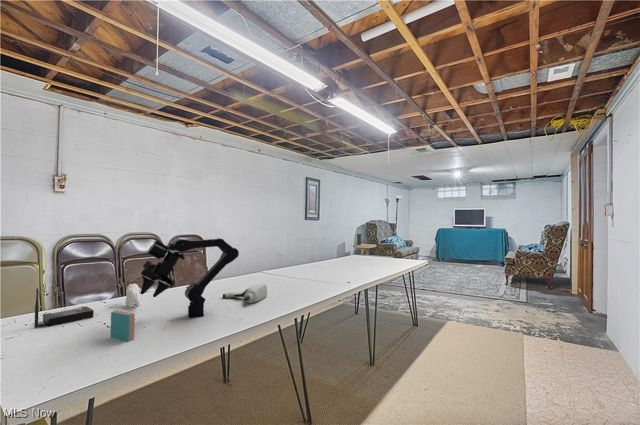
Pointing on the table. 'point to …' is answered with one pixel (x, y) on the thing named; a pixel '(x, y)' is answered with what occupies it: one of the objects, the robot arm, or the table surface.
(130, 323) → the tile
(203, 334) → the table surface
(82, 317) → the black l-shaped piece
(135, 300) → the white dinosaur figurine
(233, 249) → the robot arm
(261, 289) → the impact wrench
